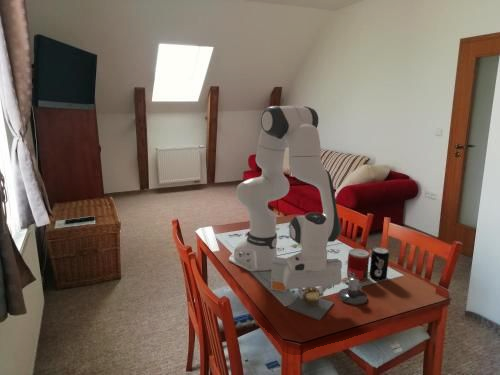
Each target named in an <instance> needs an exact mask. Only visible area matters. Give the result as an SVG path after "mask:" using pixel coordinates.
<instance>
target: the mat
mask: <svg viewBox="0 0 500 375" xmlns="http://www.w3.org/2000/svg"><path fill="white" fill-rule="evenodd" d="M334 304H335V302H333V301H331V300H328V299H326V298H325V299H324V298H323V297H319V303H318V304H315V305H311V304H307V303H306V302H305V301H304V298H303V299H301V298H300V295H299V296H297V297H296V298H295V299H294V300H293V301H292V302H291V303H290V304H289V305H288V306H287V309H288V310H290V311H294V312H297V313H300V314H302V315H304V316H307V317H310V318H313V319H314V320H317V321H321V319H322V318H323V317H324V315H326V314H327V313H328V311H329V310H330V309H331V308H332V306H334Z"/></svg>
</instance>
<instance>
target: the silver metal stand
mask: <svg viewBox="0 0 500 375" xmlns="http://www.w3.org/2000/svg"><path fill="white" fill-rule="evenodd" d="M345 285H347V287H346V288H345V287H344V288H342V289H340V290H339V292H338V299H340V301H342V302H343V303H346V304H348V305H351V306H361V305H365V303H366V302H367V301H368V295H367V294H366V293H365V292H364V291H362V289H363V285H360V281H359V278H357V277H349V278H348V281H345Z"/></svg>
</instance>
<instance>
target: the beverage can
mask: <svg viewBox="0 0 500 375" xmlns="http://www.w3.org/2000/svg"><path fill="white" fill-rule="evenodd" d="M389 253H390V252H389V250H388V248H385V247H380V246H376V247H373V248H372V251H371V256H370V264H369V265H370V266H369V276H370V277H371V279H373V280H375V281H384V280H386V278H388V277H387V276H388V268H389V259H390V254H389Z"/></svg>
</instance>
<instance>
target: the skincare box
mask: <svg viewBox="0 0 500 375" xmlns="http://www.w3.org/2000/svg"><path fill="white" fill-rule="evenodd" d="M287 265H288V264H287V258H284V257H278V256H277V257H274V259H273V260H272V269H271V270H270V271H271V272H270V273H271V274H270V275H271V276H270V278H271V279H270V290H272V291H277V292H283V293H286V292H287V290H288V289H287V288H286V287H285V286H284V284H283V275H284V270H285V267H286V266H287Z"/></svg>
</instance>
